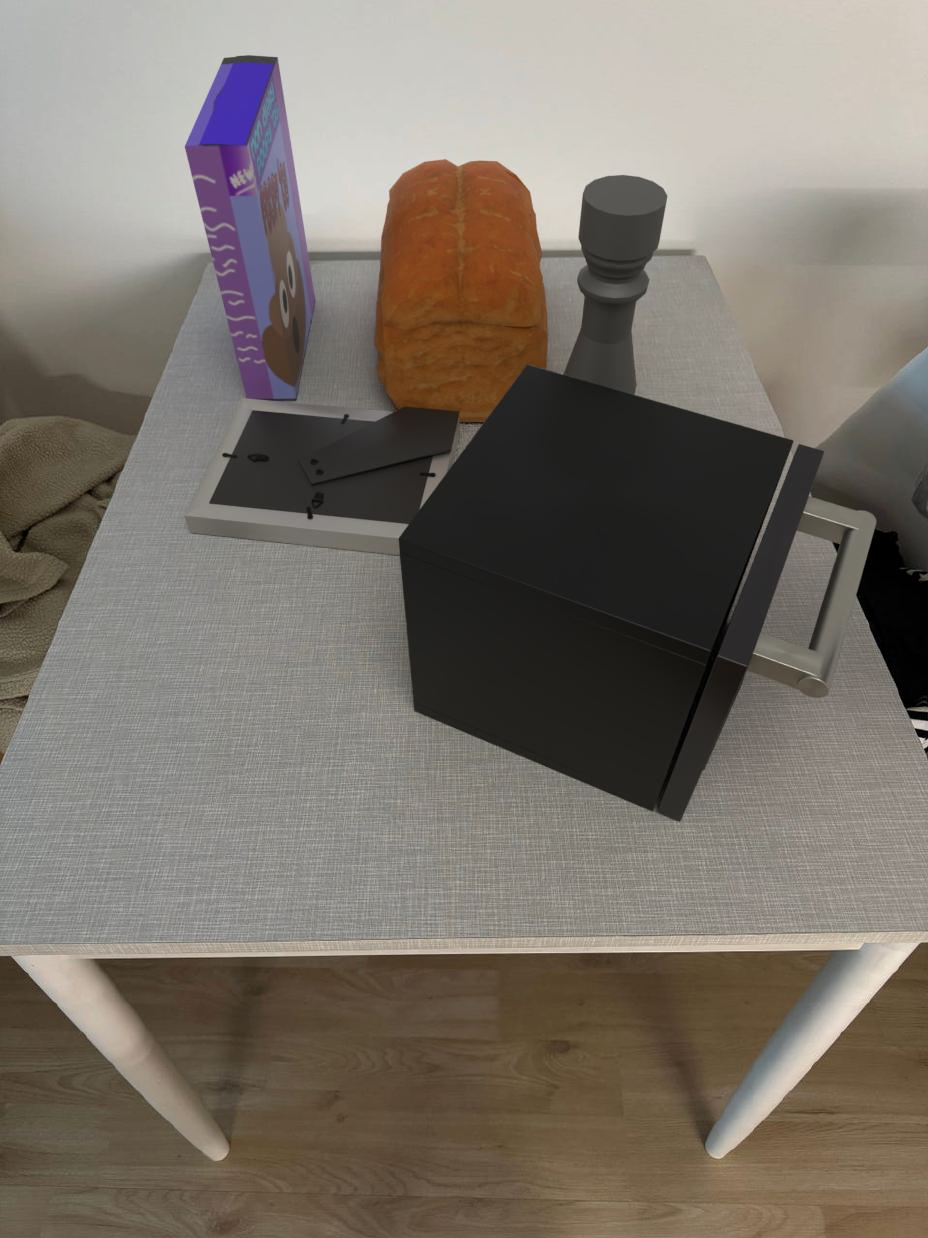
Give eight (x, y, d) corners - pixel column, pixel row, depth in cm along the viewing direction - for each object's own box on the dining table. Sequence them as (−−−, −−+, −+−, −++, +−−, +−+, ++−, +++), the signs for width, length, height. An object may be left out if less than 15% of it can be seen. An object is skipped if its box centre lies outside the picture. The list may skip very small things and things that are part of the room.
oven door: (807, 647, 66) (897, 471, 52) (744, 849, 56) (835, 699, 42) (730, 620, 68) (798, 443, 54) (656, 812, 58) (716, 655, 44)
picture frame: (459, 435, 82) (245, 415, 84) (459, 411, 80) (239, 391, 82) (431, 558, 72) (190, 532, 74) (429, 535, 70) (181, 508, 72)
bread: (377, 426, 83) (360, 270, 70) (388, 274, 99) (376, 126, 87) (547, 424, 83) (561, 267, 70) (530, 272, 99) (538, 123, 87)
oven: (727, 620, 68) (794, 439, 54) (652, 811, 58) (711, 651, 44) (515, 546, 73) (526, 363, 59) (413, 711, 63) (397, 538, 49)
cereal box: (296, 400, 85) (246, 142, 66) (247, 400, 85) (183, 143, 66) (315, 300, 96) (277, 54, 77) (271, 300, 96) (223, 54, 77)
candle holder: (603, 444, 81) (646, 167, 61) (632, 487, 77) (687, 208, 58) (541, 458, 80) (564, 181, 60) (567, 503, 76) (601, 223, 57)
